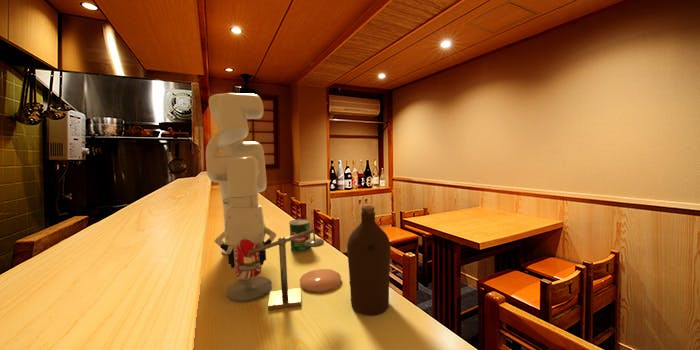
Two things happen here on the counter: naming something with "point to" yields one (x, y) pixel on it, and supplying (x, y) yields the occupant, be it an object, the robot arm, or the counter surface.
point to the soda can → (239, 255)
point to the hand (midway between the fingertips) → (248, 264)
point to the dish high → (320, 280)
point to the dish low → (249, 289)
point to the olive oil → (369, 265)
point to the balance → (285, 295)
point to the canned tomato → (297, 228)
